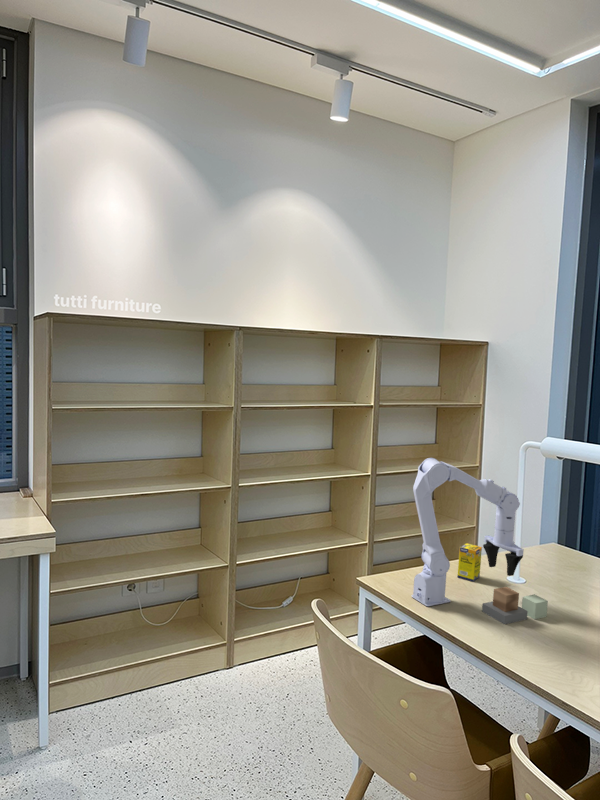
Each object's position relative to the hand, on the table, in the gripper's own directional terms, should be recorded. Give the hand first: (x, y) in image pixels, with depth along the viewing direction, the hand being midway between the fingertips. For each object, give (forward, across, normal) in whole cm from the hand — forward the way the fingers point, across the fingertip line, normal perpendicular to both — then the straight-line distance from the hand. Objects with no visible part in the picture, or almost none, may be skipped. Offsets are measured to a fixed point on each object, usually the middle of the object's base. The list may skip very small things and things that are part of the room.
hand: (501, 570), depth 187 cm
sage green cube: (+10, -12, -2) cm, 15 cm away
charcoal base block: (+10, -9, +7) cm, 15 cm away
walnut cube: (+7, -9, +7) cm, 13 cm away
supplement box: (+10, +18, -4) cm, 21 cm away
